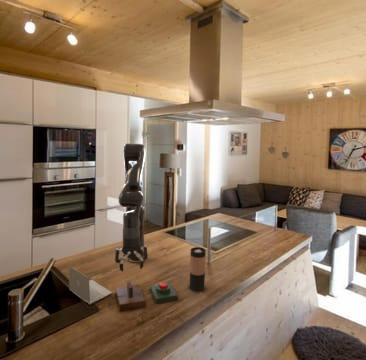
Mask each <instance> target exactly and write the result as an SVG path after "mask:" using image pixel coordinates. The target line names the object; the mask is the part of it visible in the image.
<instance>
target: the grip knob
mask: <svg viewBox="0 0 366 360" xmlns="http://www.w3.org/2000/svg"><path fill="white" fill-rule="evenodd" d="M132 286H133V285H132V281H127V282H126V287H127V292H128V295H129V298H131V297H133V287H132Z"/></svg>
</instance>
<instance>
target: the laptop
mask: <svg viewBox="0 0 366 360" xmlns="http://www.w3.org/2000/svg"><path fill="white" fill-rule="evenodd" d="M68 287H69V288H68V289H69V291H70V292H72V293H73V294H75V295H76V296H77V297H79V298H80V299H81V300H83V302H85V303H87V304H88V305H92V304H95V303H96V302H98V301H100V300H102V299H104V298H106V297H108V296H110V295H112V294H113V292H112V291H111V290H109V289H107V288H105V286H103V285H101V284H99V283H98V282H96V281H95V280H93V279H90V277H88V276H87V275H86V274H83V273H82V272H81V271H79V270H77V269H76V268H74V267H73V266H71V265H68Z"/></svg>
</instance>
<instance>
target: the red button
mask: <svg viewBox="0 0 366 360" xmlns="http://www.w3.org/2000/svg"><path fill="white" fill-rule="evenodd" d="M167 283H168V282H164V281H161V282H160V283H159V284H160V289H166V288H167Z"/></svg>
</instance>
